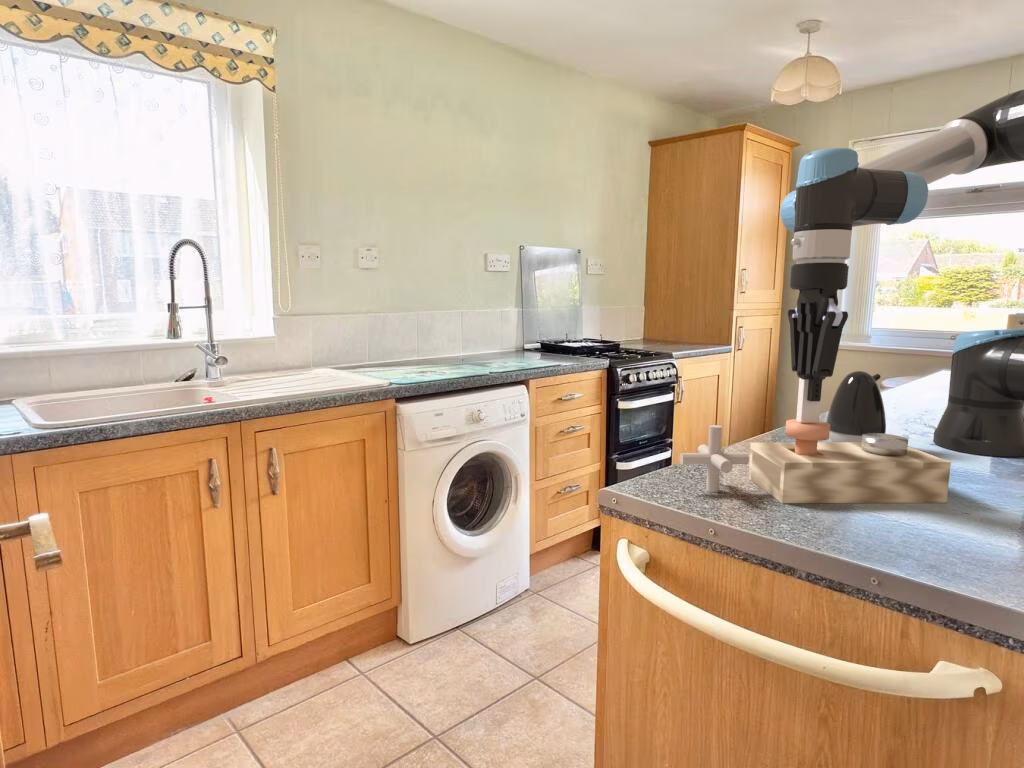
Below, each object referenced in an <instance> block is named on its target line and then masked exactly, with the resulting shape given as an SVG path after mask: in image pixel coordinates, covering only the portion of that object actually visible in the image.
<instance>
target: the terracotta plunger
mask: <svg viewBox="0 0 1024 768" xmlns="http://www.w3.org/2000/svg"><path fill="white" fill-rule="evenodd" d="M829 434H830V424H829V423H826V422H825V421H822V420H819V423H804V422H799V421H796V418H792V419H788V420H786V422H785V436H787V438H792V439H795V442H796V443H795V453H796V454H798V455H817V443H818V442H820V441H821V442H822V441H827V440H830V437H829Z"/></svg>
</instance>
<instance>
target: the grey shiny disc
mask: <svg viewBox="0 0 1024 768" xmlns="http://www.w3.org/2000/svg"><path fill="white" fill-rule="evenodd" d="M908 446H909V439H908V438H906V437H904V436H900V435H897V434H889V433H885V434H882V433H866V434H863V435H862V444H861V449H863V450H865V451H867V452H871V453H875V454H877V455H905V454H907V448H908Z"/></svg>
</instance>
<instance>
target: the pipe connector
mask: <svg viewBox="0 0 1024 768" xmlns="http://www.w3.org/2000/svg"><path fill="white" fill-rule="evenodd" d="M708 428H709V429H708V445H707V444H704V443H703V444H699V446H698V448H697V452H680V453H679V463H680V465H681V466H683V465H686V466H687V465H689V466H691V465H692V466H693V465H694V466H695V465H697V466H699V465H704V466H705V465H707V466H706V467H707V468H706V486H705V489H706V491H707V492H709V493H718V492H719V489H720V488H719V487H720V472H722V473H724V474H729V473H730V472H732V471H733V468H734V466H733V465H748V464H749V461H750V455H749V454H748V452H721V451H722V449H721V448H722V434H723V433H722V431H723V426H722V425H718V424H710V425H709V426H708Z"/></svg>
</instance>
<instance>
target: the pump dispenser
mask: <svg viewBox="0 0 1024 768" xmlns="http://www.w3.org/2000/svg"><path fill="white" fill-rule="evenodd" d="M881 377H882V376H881V374H879V373H876V374H874V375H871V374H870V373H869V372H866V371H863V370H856V371H855V370H854V371H852V372H849V373H848V374H847V375H845V377H844V378H843V379H842V380H841V382H840V384H839V385H838V386H837V388H836V390H835V393H834V396H833V397H832V400H831V402H830V406H829V409H828V411H827V412H828V414H827V417H826V423H829V424H830V434H829V440H830V441H831V442H862V435H863V434H866V433H882V434H887V433H886V432H887V431H886V430H887V423H886V422H887V421H886V419H887V418H886V411H885V405H884V401H883V397H882V396H883V395H882V393H881V390H880V387H879V384H878V383H877V382H878V380H880V379H881Z"/></svg>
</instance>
